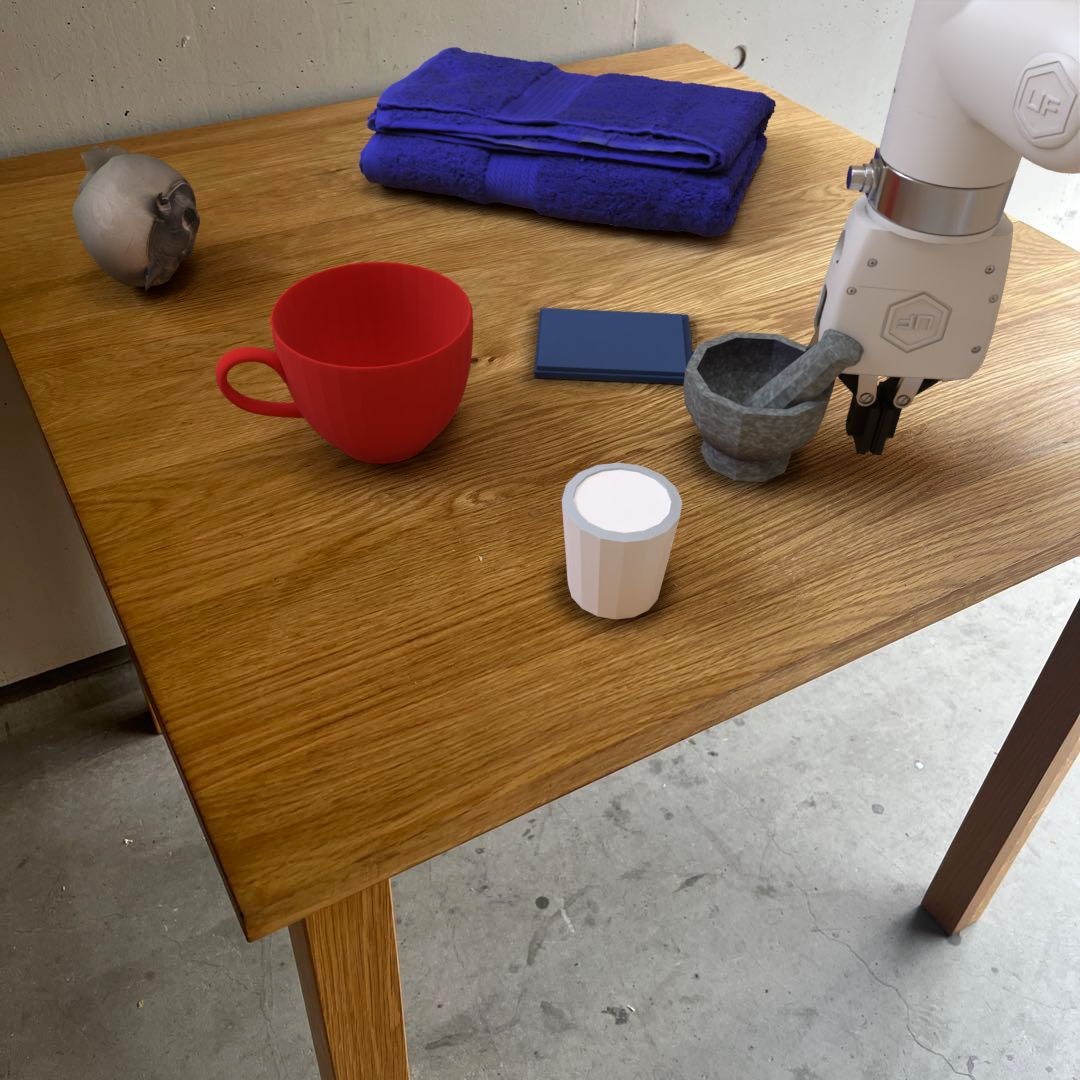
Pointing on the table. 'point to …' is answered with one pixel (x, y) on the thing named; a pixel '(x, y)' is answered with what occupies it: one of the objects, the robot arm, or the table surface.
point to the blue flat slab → (612, 346)
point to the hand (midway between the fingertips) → (865, 442)
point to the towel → (570, 142)
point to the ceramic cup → (367, 357)
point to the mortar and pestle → (762, 397)
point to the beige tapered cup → (618, 537)
